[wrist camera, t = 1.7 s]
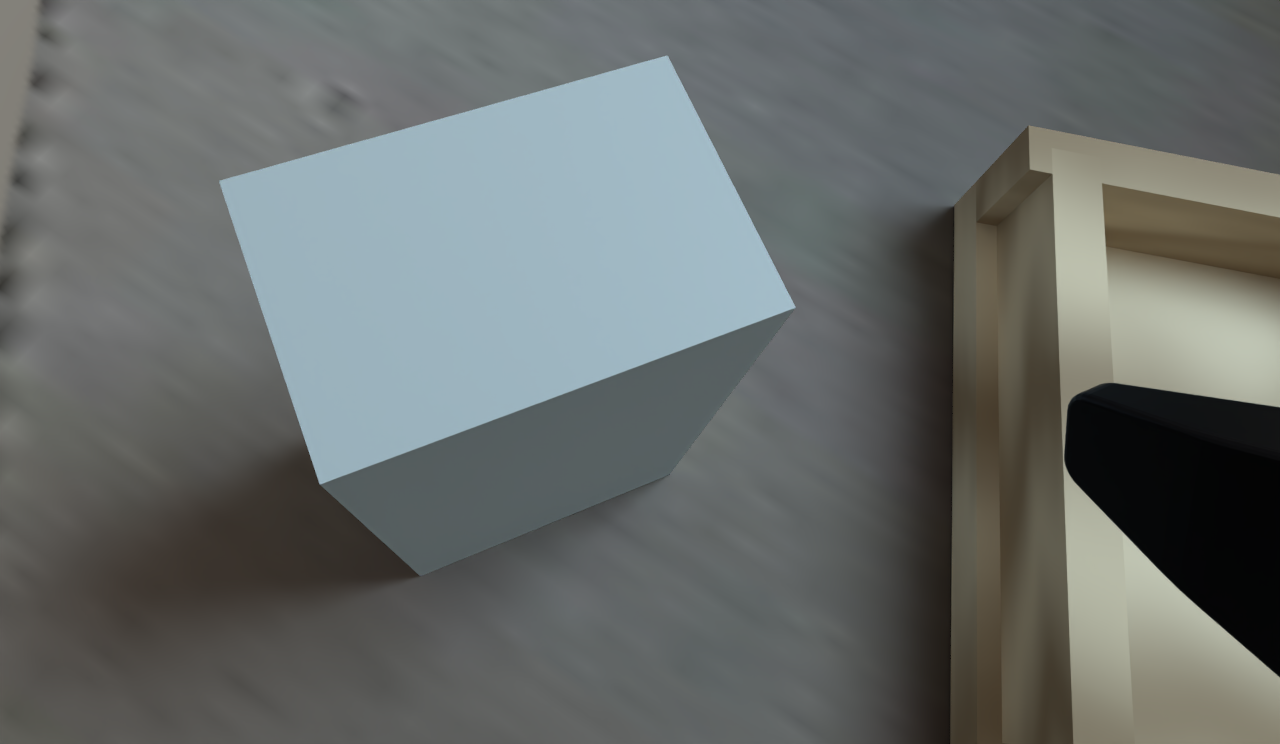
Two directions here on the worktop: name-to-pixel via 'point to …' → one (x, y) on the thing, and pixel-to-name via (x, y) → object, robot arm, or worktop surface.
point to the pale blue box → (508, 306)
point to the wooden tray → (1036, 427)
